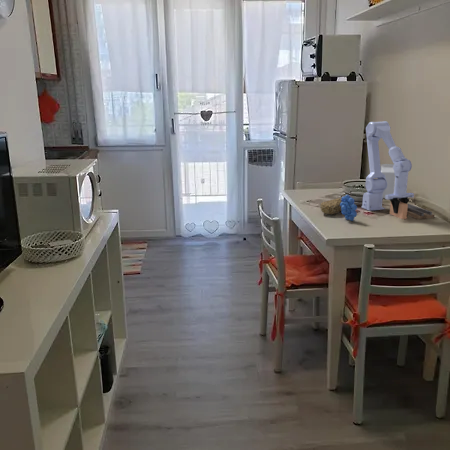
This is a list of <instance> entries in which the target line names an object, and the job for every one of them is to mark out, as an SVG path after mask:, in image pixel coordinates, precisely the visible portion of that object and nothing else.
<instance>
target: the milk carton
mask: <svg viewBox="0 0 450 450" xmlns="http://www.w3.org/2000/svg"><path fill="white" fill-rule="evenodd" d="M380 166H381V172H382V173H383V174H384V175H385V178H386V181H387V188H386V189H385V190H384V192H383V199H385V196H386V195H389V194H393V193H394V184H395V175H394V169H393V166H394V163H392V164H391V163H382V164H380Z"/></svg>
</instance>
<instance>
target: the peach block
mask: <svg viewBox="0 0 450 450" xmlns="http://www.w3.org/2000/svg"><path fill="white" fill-rule="evenodd" d="M389 204H390V205H389V214H390V215H392V216H394V217H396V218H399V219H401V220H406V219H408V217H407V216H408V215H407V208H408V204H409V203H407V204H405V203H403V202H400V203H399V207H398V213H397V214H396V213H394V211H393V206H392V203H391V202H390V203H389Z"/></svg>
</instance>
